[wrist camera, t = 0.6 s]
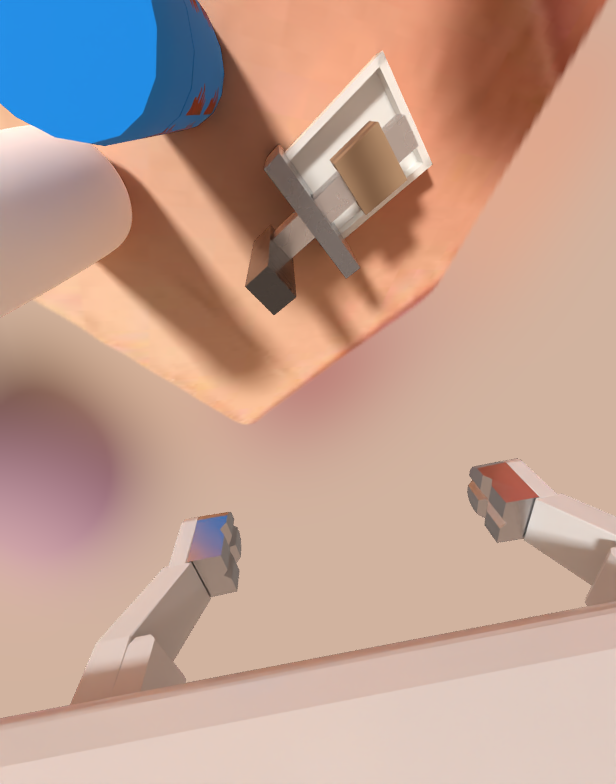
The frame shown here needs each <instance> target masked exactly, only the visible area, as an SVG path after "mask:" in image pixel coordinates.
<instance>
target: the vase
mask: <svg viewBox="0 0 616 784" xmlns="http://www.w3.org/2000/svg"><path fill="white" fill-rule="evenodd" d="M131 224H132V208H131V202H130V198H129V195H128V192H127V189H126V187H125V185H124V183H123V181H122V179H121V177H120V176H119V174H118V172H117V171H116V169H115V168H114V167H113V165H112V164H111V163H110V162H109V161H108V159H107V158H106V157H105V156H104V155H103V154H102V153H101V152H100V151H99V150H98V149H96V148H95V147H94V146H93V145H92V144H90V143H84V142H78V141H73V140H67V139H61V138H55V137H53V136H51V135H49V134H48V133H46V132H44V131H42V130H40V129H38V128H36V127H34V126H32V125H27V126H20V127H14V128H8V129H3V130H0V318H1V317H3V316H4V315H6V314H8V313H10V312H12V311H13V310H15V309H17V308H19V307H20V306H22V305H24V304H26V303H28V302H29V301H31V300H33V299H35V298H36V297H38V296H40V295H42V294H43V293H45V292H47V291H49V290H50V289H52V288H54V287H56V286H57V285H59V284H61V283H62V282H64V281H66V280H68V279H69V278H71V277H73V276H74V275H76V274H78V273H79V272H81V271H83V270H84V269H86V268H88V267H89V266H91V265H92V264H94V263H96V262H97V261H99V260H100V259H102V258H104V257H105V256H107V255H108V254H110V253H111V252H112V251H114V250H115V249H116V248H118V247H119V246H120V245H121V244H122V243H123V242H124V240H125V239H126V237H127V236H128V234H129V231H130V228H131Z"/></svg>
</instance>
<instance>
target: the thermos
mask: <svg viewBox="0 0 616 784" xmlns="http://www.w3.org/2000/svg"><path fill="white" fill-rule="evenodd" d="M223 79H224V68H223V61H222V53H221V48H220V45H219V42H218V40H217V37H216V35H215V32H214V30H213V27H212V24H211V22H210V20H209V18H208V16H207V14H206V12H205V11H204V9H203V8H202V6H201V5H200V3H199V2H198V1H197V0H0V103H1V104H2V105H3V106H4V107H5V108H6V109H7V110H9V111H10V112H11V113H12V114H13V115H14V116H16V117H17V118H19V119H21V120H23V121H25V122H27V123H29V124H31V125H32V126H34V127H36V128H38V129H40V130H42V131H44V132H46V133H48V134H49V135H51V136H53V137H55V138H61V139H67V140H73V141H78V142H84V143H90V144H96V145H102V146H107V145H112V144H117V143H122V142H127V141H132V140H137V139H142V138H147V137H152V136H157V135H162V134H167V133H172V132H177V131H181V130H185V129H189V128H193V127H196V126H198V125H199V124H201V123H202V122H203V121H205V120H206V119H207V118H208V117H209V116H210V115H211V114H212V113H213V112H214V111H215V108H216V106H217V104H218V102H219V100H220V98H221V95H222V88H223Z"/></svg>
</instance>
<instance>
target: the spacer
mask: <svg viewBox="0 0 616 784" xmlns="http://www.w3.org/2000/svg"><path fill="white" fill-rule="evenodd" d="M330 161H331V163H332V165H333V166H334V168H335V169H336V170H337V171H338V172H339V174H340V176H341V177H342V179H343V181H344V182H345V184H346V185H347V187H348V189H349V190H350V192H351V193H352V195H353V197H354V198H355V200H356V203H357V205H358V206H359V208H360V209H361V210H362V211H363V213H364V214H365V215H367V214H368V213H369V212H371V211H372V210H373V209H374V208H375V207H376V206H378V205H379V204H380V203H381V202H382V201H383V200H385V199H386V198H387V197H388V196H389V195H390V194H392V193H393V192H394V191H395V190H396V189H398V188H399V187H400V186H401V185H402V184H403V183H405V182H406V181H407V178H406V176H405V174H404V172H403V170H402V168H401V166H400V164H399V162H398V160H397V158H396V156H395V154H394V152H393V150H392V148H391V146H390V144H389V142H388V140H387V138H386V136H385V134H384V132H383V130H382V128H381V126H380V124H379V122H375V121H368V122H367V123H366V124H365V125H364V126H363V127H362V128H361V129H360V130H359V131H358V132H357V133H356V134H355V135H354V136H353V137H352V138H351V139H350V140H349V141H348V142H347V143H346V144H345V145H344V146H343V147H342V148H341V149H340V150H339V151H338V152H337V153H336V154H335V155H334V156H333V157H332V158H331V159H330Z"/></svg>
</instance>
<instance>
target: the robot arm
mask: <svg viewBox="0 0 616 784" xmlns="http://www.w3.org/2000/svg"><path fill="white" fill-rule="evenodd" d="M469 475H470V477H471V478H472V481H471V483H470V484H469V485H468V491H467V493H468V497H469V501H470V503H471V505H472V507H473V509H474V510H475V512H476V513H477V514H478V515H480V516H482V517H484V518H485V526H486V528H487V529H488V531H489V532H490V533H491V535H492V536H493V538H494V539H495V540H496V542H497V543H499V542H505V541H511V540H518V539H524V540H525V541H526V542H528V543H529V544H531V545H533V546H534V547H535V548H537V549H538V550H540V551H541V552H543V553H544V554H546V555H547V556H549V557H550V558H552V559H553V560H555V561H556V562H558V563H559V564H560V565H562V566H564V567H565V568H567V569H568V570H569V571H571V572H572V573H574V574H575V575H577V576H578V577H580V578H581V579H583V580H584V581H586V582H587V583H589V584H590V585H592V586H591V588H590V590H589V593H588V595H587V597H586V601H585V603H586V605H587V607H582V608H577V609H571V610H566V611H561V612H556V613H551V614H545V615H540V616H535V617H529V618H524V619H519V620H513V621H508V622H503V623H497V624H492V625H487V626H482V627H476V628H471V629H466V630H460V631H455V632H450V633H445V634H439V635H434V636H429V637H424V638H418V639H413V640H408V641H403V642H397V643H392V644H387V645H382V646H376V647H371V648H366V649H361V650H355V651H350V652H345V653H340V654H335V655H329V656H324V657H319V658H313V659H308V660H303V661H298V662H292V663H288V664H282V665H277V666H271V667H266V668H261V669H256V670H251V671H245V672H240V673H235V674H229V675H224V676H219V677H214V678H209V679H203V680H199V681H193V682H188V683H186V678H185V677H184V675H183V674H182V672H181V671H180V670H179V669H178V667H177V666H176V665H175V664H174V662H173V661H174V659H175V658H176V656H177V654H178V653H179V651H180V649H181V648H182V646H183V644H184V643H185V641H186V639H187V638H188V636H189V634H190V633H191V631H192V629H193V628H194V626H195V624H196V623H197V621H198V619H199V618H200V616H201V614H202V613H203V611H204V609H205V608H206V606H207V604H208V603H209V601H210V599H211V598H210V597H213V596H218V595H223V594H227V593H232V592H237V589H238V578H239V568H238V566H237V564H236V563H237V562H238V560H239V559H240V557H241V538H240V533H239V530H238V528H237V527H235V526H234V525H233V524H234V518H233V515H232V513H231V512H225V513H219V514H213V515H206V516H200V517H195V518H189V519H185V520H184V521H183V523H182V524H181V528H180V531H179V534H178V537H177V540H176V544H175V547H174V550H173V553H172V557H171V560H170V563H169V566H168V567H164V568H163V569H162V570H161V571H160V572H159V573H158V574H157V576H156V577H155V578H154V579H153V580H152V581H151V582H150V583H149V585H148V586H147V587H146V588H145V589H144V590H143V591H142V592H141V593H140V595H139V596H138V597H137V598H136V599H135V600H134V601H133V602H132V603H131V605H130V606H129V607H128V608H127V609H126V610H125V611H124V612H123V614H122V615H121V616H120V617H119V618H118V619H117V620H116V621H115V622H114V624H113V625H112V626H111V627H110V628H109V629H108V630H107V631H106V633H105V634H104V635H103V636H102V637H101V638H100V639H99V640H98V641H97V643H96V645H95V647H94V650H93V652H92V654H91V656H90V659H89V661H88V664H87V666H86V668H85V671H84V673H83V676H82V678H81V680H80V683H79V685H78V687H77V690H76V692H75V694H74V697H73V699H72V702H71V704H70V705H68V706H62V707H57V708H52V709H46V710H41V711H36V712H30V713H26V714H20V715H15V716H9V717H4V718H0V784H616V516H613V515H611V514H609V513H606V512H604V511H602V510H600V509H597V508H595V507H592V506H590V505H588V504H585V503H583V502H581V501H578V500H576V499H574V498H571V497H569V496H567V495H564V494H557V493H555V492H554V491H553V490H552V489H551V488H550V487H549V486H548V485H547V484H546V483H545V482H544V481H543V480H542V479H541V478H540V477H538V475H536V473H534V472H533V471H532V470H531V469H530V468H529V467H528V466H527V465H526V464H525V463H524V462H523V461H522V460H520V459H518V458H516V459H511V460H506V461H502V462H495V463H489V464H485V465H479V466H474V467H472V468H471V470H470V474H469Z"/></svg>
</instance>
